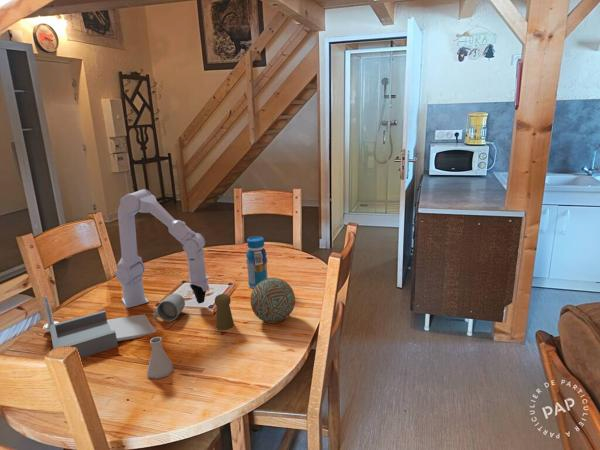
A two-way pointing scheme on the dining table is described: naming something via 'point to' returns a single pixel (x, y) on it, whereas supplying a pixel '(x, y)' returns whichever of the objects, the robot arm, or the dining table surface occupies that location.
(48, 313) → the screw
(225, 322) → the olive pawn
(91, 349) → the dock
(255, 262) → the beverage bottle
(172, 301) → the ceramic mug
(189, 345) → the dining table surface
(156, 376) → the flask
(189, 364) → the dining table surface
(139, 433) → the dining table surface
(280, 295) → the decorative sphere
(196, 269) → the robot arm
